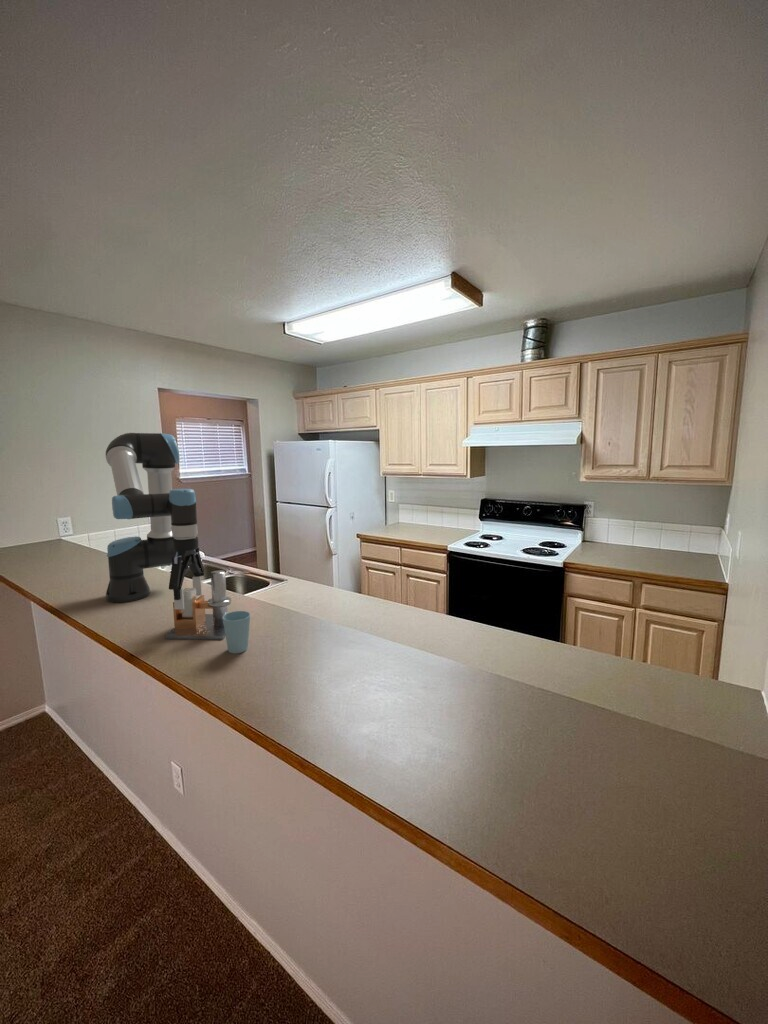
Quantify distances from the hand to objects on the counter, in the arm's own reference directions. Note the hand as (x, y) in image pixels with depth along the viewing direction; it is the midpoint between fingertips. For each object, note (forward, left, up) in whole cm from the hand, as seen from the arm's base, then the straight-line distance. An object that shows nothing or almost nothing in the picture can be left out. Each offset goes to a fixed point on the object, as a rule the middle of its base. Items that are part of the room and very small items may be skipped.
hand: (189, 601), depth 139 cm
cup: (+15, +21, -9) cm, 27 cm away
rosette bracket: (0, +5, -9) cm, 10 cm away
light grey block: (0, 0, -8) cm, 8 cm away
